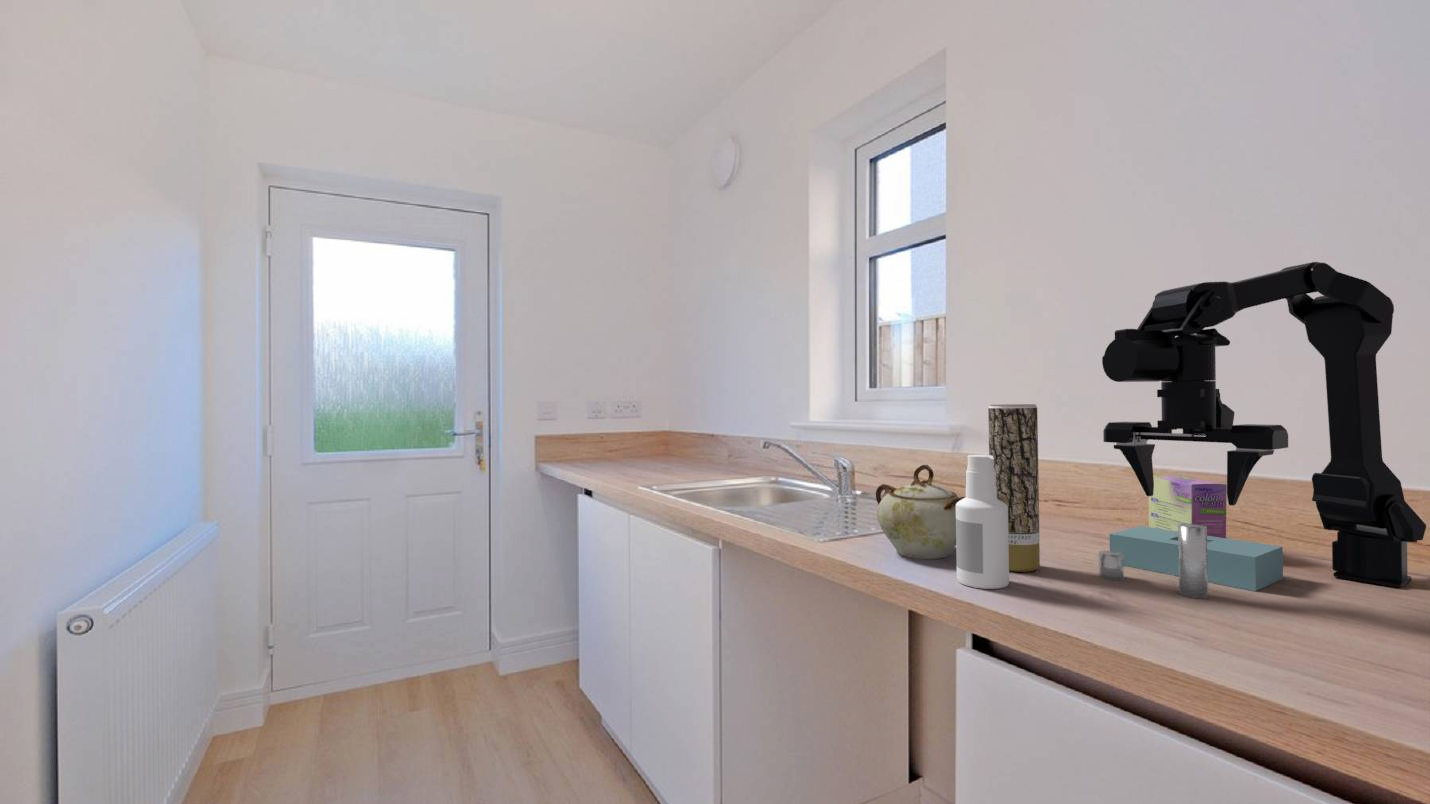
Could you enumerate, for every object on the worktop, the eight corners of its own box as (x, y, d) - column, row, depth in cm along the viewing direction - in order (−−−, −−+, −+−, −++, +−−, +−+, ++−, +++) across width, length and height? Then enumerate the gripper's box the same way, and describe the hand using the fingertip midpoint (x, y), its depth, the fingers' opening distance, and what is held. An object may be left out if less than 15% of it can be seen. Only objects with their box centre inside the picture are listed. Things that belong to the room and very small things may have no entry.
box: (1228, 556, 100) (1227, 483, 100) (1191, 557, 100) (1190, 483, 100) (1181, 541, 111) (1180, 475, 110) (1148, 542, 111) (1147, 475, 111)
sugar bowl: (1003, 557, 102) (1001, 465, 102) (948, 573, 94) (946, 473, 93) (903, 537, 118) (902, 457, 118) (849, 549, 110) (847, 463, 110)
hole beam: (1282, 578, 88) (1282, 546, 88) (1255, 591, 83) (1255, 557, 83) (1140, 553, 103) (1140, 525, 103) (1109, 562, 98) (1109, 533, 98)
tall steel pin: (1212, 595, 81) (1211, 526, 81) (1202, 599, 80) (1201, 529, 80) (1185, 589, 84) (1183, 522, 84) (1174, 593, 82) (1173, 525, 82)
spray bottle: (965, 573, 93) (963, 452, 93) (1014, 581, 89) (1012, 454, 89) (950, 584, 88) (947, 456, 88) (1001, 593, 84) (999, 458, 84)
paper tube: (1046, 574, 92) (1043, 404, 92) (996, 572, 94) (994, 405, 93) (1032, 562, 99) (1029, 404, 99) (986, 560, 100) (983, 404, 100)
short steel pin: (1127, 578, 90) (1127, 553, 90) (1117, 581, 88) (1117, 556, 88) (1105, 573, 92) (1105, 549, 92) (1095, 576, 91) (1094, 552, 91)
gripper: (1303, 379, 79) (1304, 503, 79) (1139, 383, 94) (1140, 487, 94) (1270, 378, 73) (1271, 513, 73) (1100, 383, 88) (1102, 493, 89)
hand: (1189, 500), depth 82 cm, fingers open, 9 cm apart
